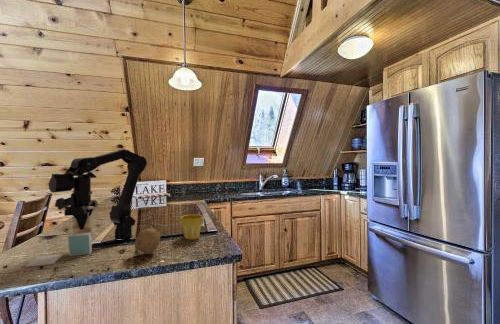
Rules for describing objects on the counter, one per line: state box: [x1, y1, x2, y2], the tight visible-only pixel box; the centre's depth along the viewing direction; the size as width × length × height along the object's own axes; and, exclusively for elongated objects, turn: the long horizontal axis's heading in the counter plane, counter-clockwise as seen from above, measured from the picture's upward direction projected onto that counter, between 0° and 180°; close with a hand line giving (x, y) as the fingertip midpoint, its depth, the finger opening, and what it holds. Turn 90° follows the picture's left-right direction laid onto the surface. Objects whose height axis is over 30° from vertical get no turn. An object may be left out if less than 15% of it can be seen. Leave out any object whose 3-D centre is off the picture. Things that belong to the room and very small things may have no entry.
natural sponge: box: [134, 228, 161, 256], centre depth 97 cm, size 9×9×10 cm
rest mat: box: [25, 253, 64, 268], centre depth 91 cm, size 8×8×1 cm
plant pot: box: [180, 214, 204, 240], centre depth 117 cm, size 10×10×10 cm
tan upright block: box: [71, 215, 93, 237], centre depth 100 cm, size 6×5×9 cm
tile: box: [67, 232, 93, 257], centre depth 97 cm, size 7×2×8 cm, turn 107°
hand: (82, 228), depth 100 cm, fingers closed on tan upright block
